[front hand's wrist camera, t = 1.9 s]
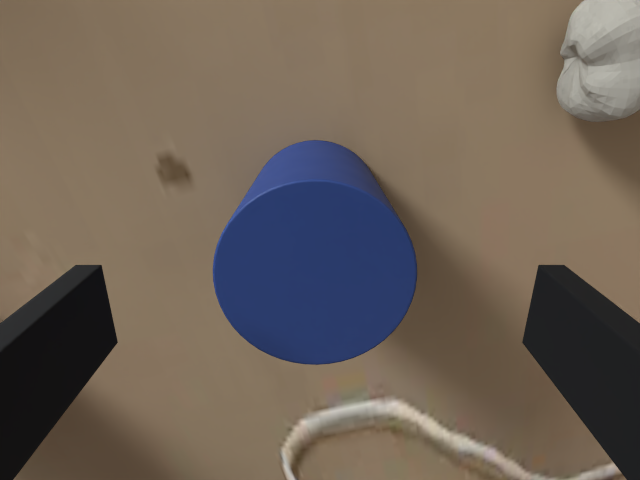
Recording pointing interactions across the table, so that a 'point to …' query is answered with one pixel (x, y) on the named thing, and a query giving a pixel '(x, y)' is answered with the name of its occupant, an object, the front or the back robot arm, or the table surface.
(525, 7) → the table surface
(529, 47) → the table surface
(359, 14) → the table surface
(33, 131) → the table surface
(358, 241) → the can
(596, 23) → the dog toy
